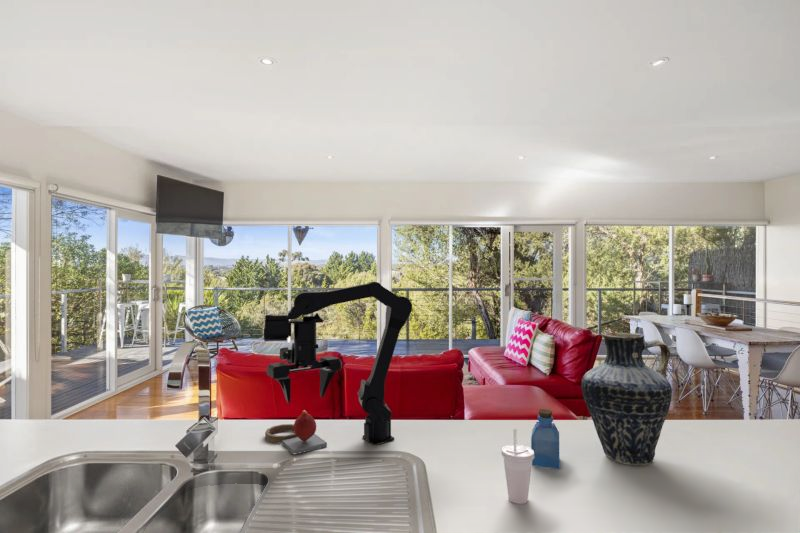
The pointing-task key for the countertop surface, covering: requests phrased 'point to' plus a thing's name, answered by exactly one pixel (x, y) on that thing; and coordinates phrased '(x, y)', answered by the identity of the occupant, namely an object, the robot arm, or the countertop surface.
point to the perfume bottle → (545, 441)
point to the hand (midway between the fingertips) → (305, 399)
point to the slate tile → (304, 444)
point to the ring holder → (277, 429)
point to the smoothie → (517, 470)
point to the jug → (628, 398)
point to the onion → (304, 426)
